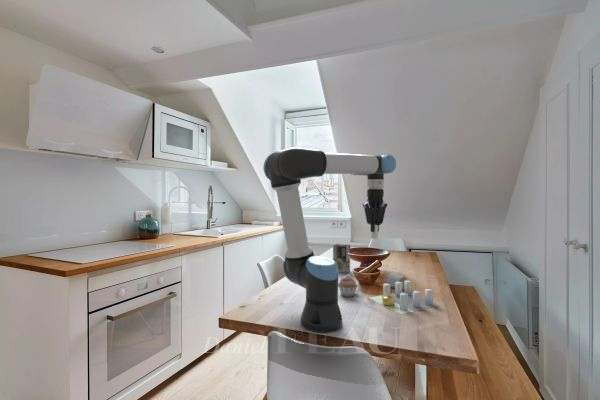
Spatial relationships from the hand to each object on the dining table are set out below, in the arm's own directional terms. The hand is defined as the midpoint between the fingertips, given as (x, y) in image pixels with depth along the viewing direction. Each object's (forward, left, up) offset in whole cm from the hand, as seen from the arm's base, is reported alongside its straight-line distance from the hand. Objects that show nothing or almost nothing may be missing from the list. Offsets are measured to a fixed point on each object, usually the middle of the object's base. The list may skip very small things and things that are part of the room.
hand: (374, 238), depth 141 cm
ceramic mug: (+17, +2, -27) cm, 32 cm away
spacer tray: (+4, -15, -26) cm, 31 cm away
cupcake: (-12, +4, -27) cm, 29 cm away
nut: (-4, -15, -25) cm, 30 cm away
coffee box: (+9, +42, -27) cm, 51 cm away
